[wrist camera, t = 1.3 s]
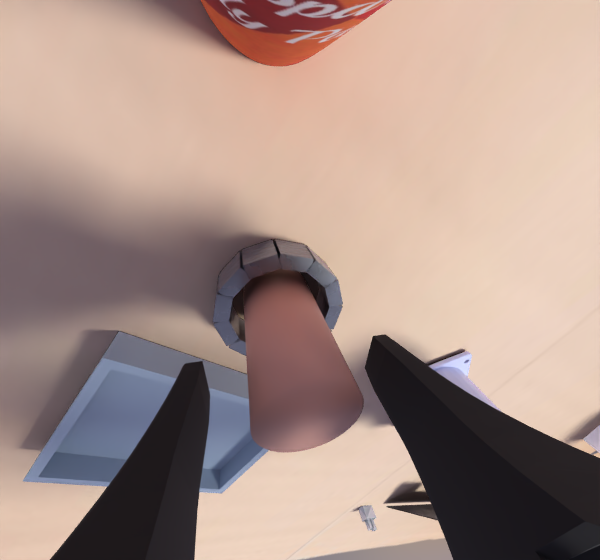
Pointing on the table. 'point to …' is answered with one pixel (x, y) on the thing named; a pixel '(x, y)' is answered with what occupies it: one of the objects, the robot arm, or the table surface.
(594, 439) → the milk
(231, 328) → the sleeve
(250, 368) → the peg
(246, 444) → the tray
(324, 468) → the table surface
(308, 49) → the paper cup
